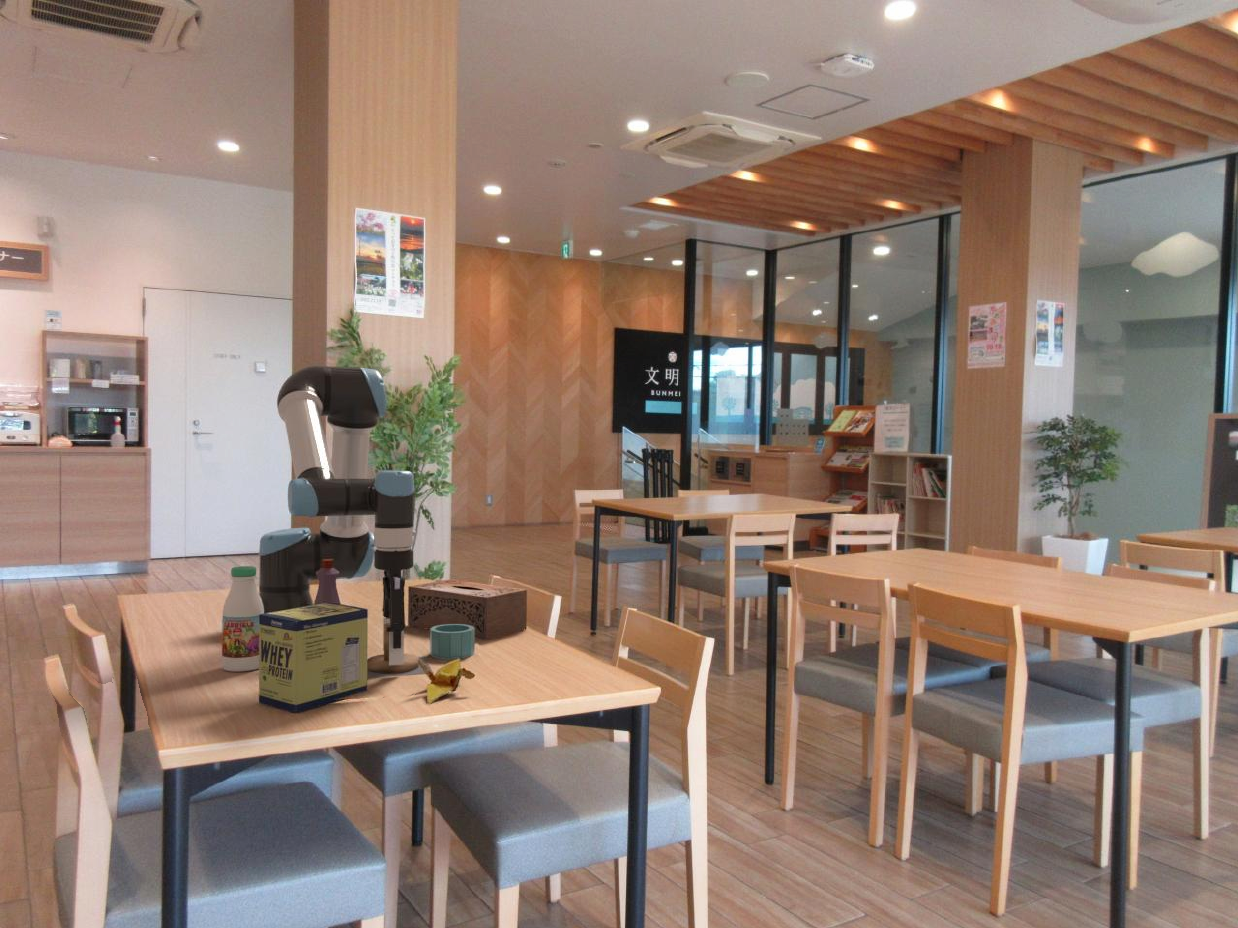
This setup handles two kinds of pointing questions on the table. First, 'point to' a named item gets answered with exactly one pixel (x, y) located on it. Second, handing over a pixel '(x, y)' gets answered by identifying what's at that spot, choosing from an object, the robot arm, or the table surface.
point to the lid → (382, 661)
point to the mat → (413, 672)
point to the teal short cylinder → (452, 641)
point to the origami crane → (444, 679)
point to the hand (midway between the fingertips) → (393, 657)
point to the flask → (327, 583)
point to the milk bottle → (241, 622)
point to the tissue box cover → (468, 607)
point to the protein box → (312, 655)
